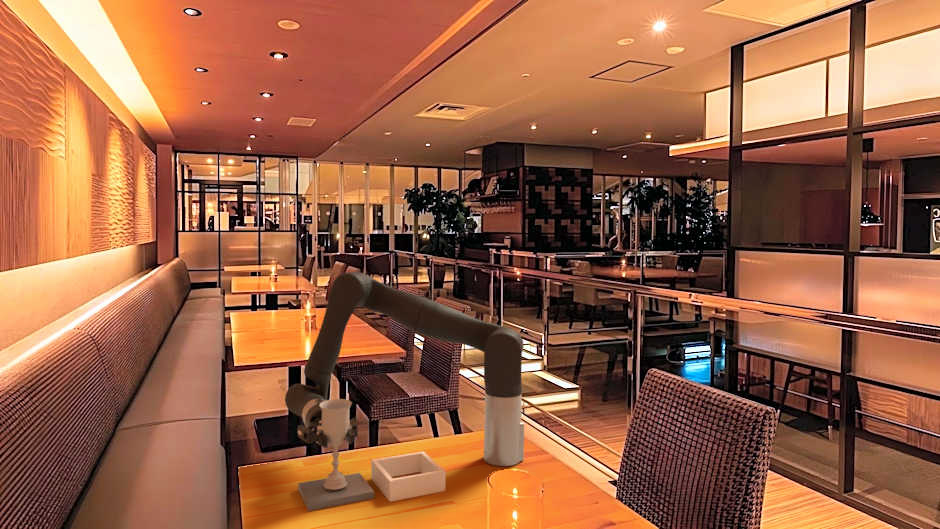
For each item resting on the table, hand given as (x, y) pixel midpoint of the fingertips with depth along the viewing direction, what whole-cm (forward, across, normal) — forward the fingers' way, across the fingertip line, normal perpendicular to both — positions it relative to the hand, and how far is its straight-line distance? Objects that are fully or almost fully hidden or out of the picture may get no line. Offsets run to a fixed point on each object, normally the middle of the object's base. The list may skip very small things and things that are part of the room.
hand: (338, 441), depth 130 cm
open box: (-1, +16, +13) cm, 20 cm away
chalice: (-3, 0, +11) cm, 11 cm away
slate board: (-3, 0, +13) cm, 13 cm away
